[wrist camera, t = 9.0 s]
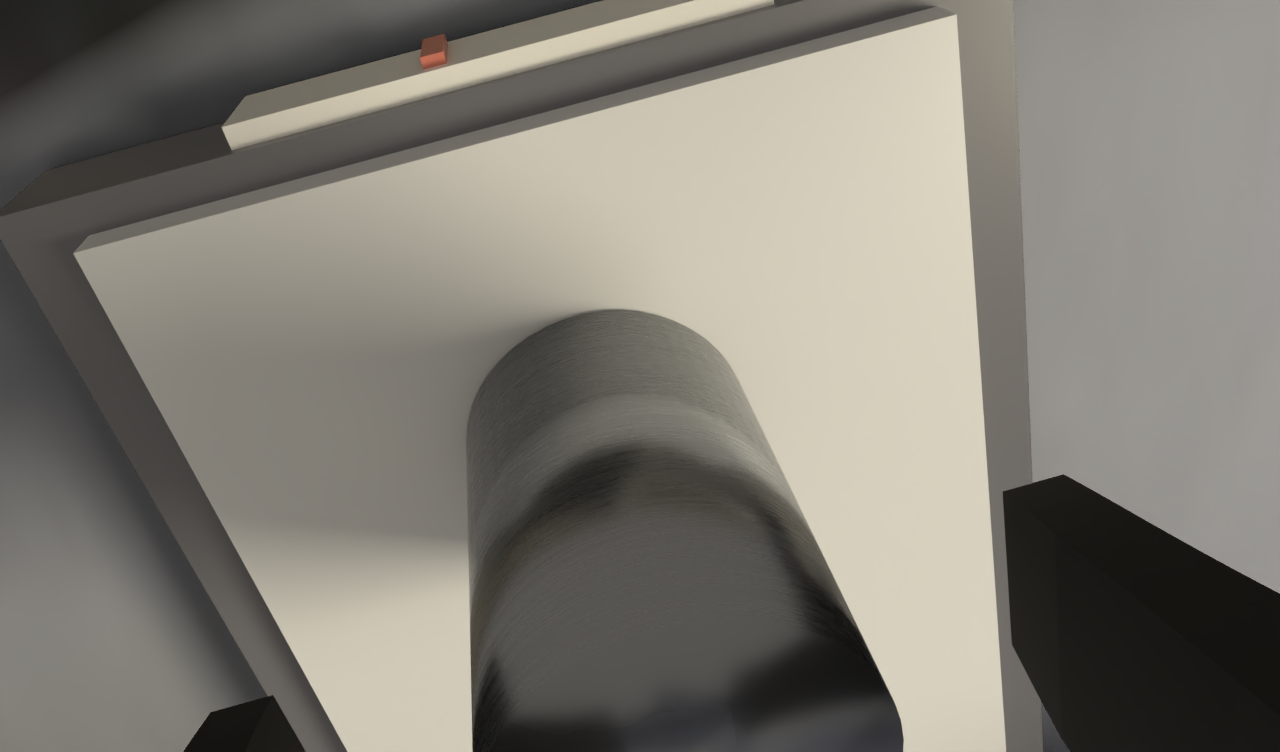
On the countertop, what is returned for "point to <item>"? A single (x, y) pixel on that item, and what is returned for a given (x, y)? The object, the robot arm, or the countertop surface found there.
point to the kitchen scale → (556, 290)
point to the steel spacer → (649, 561)
